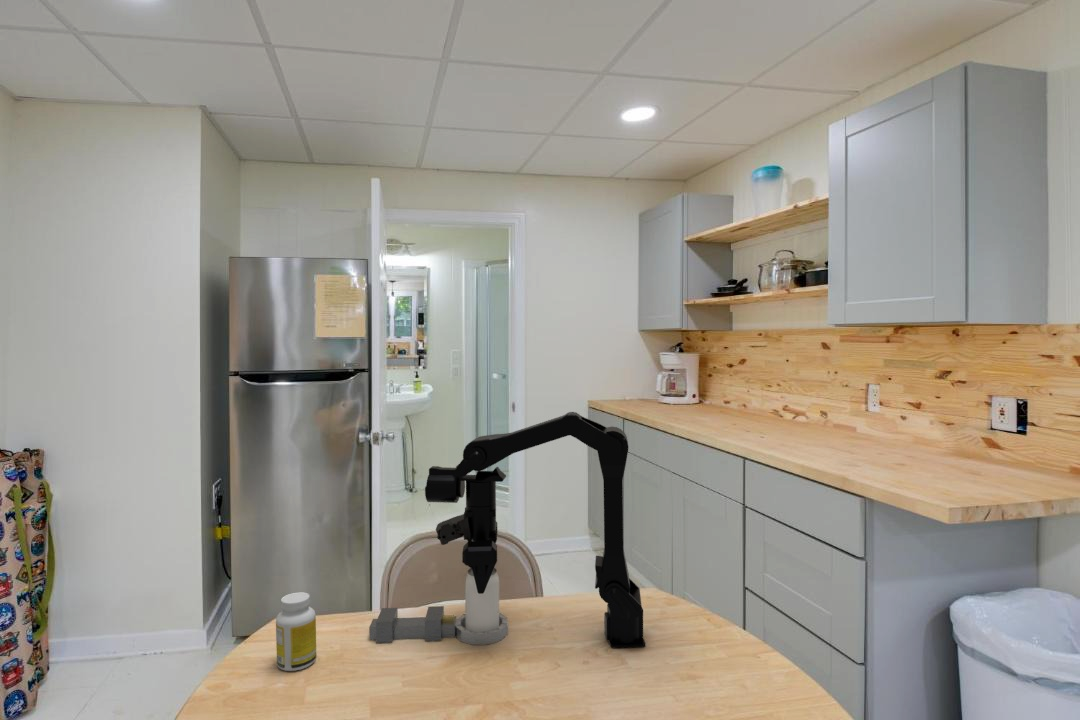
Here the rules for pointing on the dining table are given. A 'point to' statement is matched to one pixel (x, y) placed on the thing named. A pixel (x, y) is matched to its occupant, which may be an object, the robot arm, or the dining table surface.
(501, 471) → the robot arm
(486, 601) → the can
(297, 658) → the pill bottle
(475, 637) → the shaft seat
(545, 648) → the dining table surface
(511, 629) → the dining table surface
